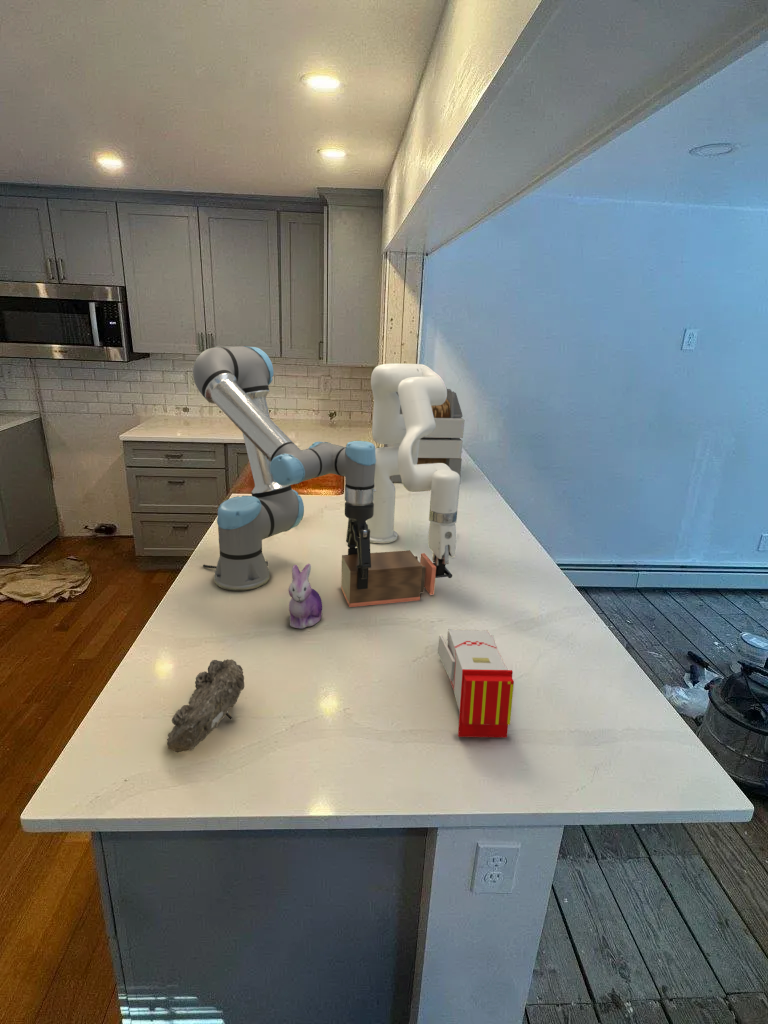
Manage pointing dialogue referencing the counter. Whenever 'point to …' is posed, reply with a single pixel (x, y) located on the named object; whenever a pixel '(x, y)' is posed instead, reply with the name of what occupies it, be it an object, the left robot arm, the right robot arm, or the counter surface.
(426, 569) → the drawer
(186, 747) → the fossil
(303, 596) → the figurine
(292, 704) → the counter surface
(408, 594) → the cabinet
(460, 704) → the toy
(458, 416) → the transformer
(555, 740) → the counter surface
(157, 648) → the counter surface
